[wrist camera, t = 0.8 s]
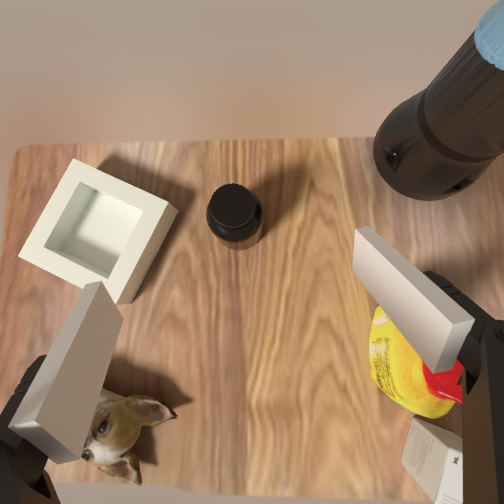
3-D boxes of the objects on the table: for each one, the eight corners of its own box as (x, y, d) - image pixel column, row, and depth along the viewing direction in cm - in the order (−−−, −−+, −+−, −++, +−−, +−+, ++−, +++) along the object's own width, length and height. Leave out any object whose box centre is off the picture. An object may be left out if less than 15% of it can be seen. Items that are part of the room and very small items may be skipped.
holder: (178, 211, 41) (168, 202, 37) (131, 303, 40) (115, 305, 35) (93, 171, 42) (73, 158, 38) (44, 259, 41) (18, 256, 37)
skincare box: (398, 461, 36) (433, 505, 29) (412, 415, 37) (449, 447, 29) (444, 480, 35) (492, 530, 28) (457, 433, 36) (507, 470, 29)
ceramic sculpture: (49, 370, 30) (167, 438, 30) (93, 349, 39) (185, 401, 38) (-4, 460, 29) (116, 532, 29) (53, 418, 38) (146, 473, 38)
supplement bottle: (214, 249, 40) (194, 233, 28) (219, 204, 41) (201, 170, 29) (261, 253, 40) (261, 238, 28) (265, 207, 41) (266, 175, 29)
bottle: (361, 296, 39) (465, 307, 19) (407, 299, 38) (563, 312, 19) (361, 386, 37) (475, 499, 17) (409, 389, 37) (581, 508, 17)
